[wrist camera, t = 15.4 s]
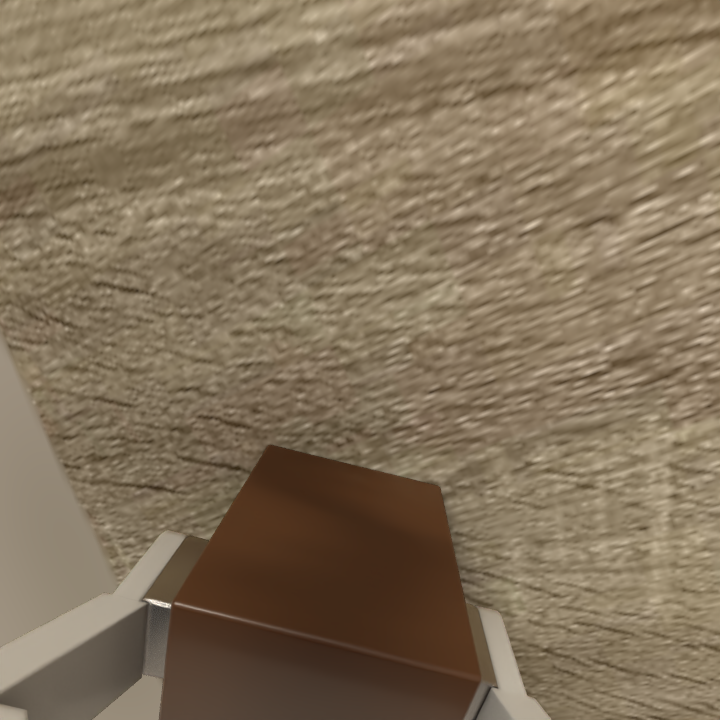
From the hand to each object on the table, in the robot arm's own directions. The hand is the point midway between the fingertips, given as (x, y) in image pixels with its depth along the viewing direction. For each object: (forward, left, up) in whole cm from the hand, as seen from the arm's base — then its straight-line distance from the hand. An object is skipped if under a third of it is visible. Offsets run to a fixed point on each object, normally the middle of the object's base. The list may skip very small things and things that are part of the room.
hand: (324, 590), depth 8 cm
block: (0, 0, -2) cm, 2 cm away
